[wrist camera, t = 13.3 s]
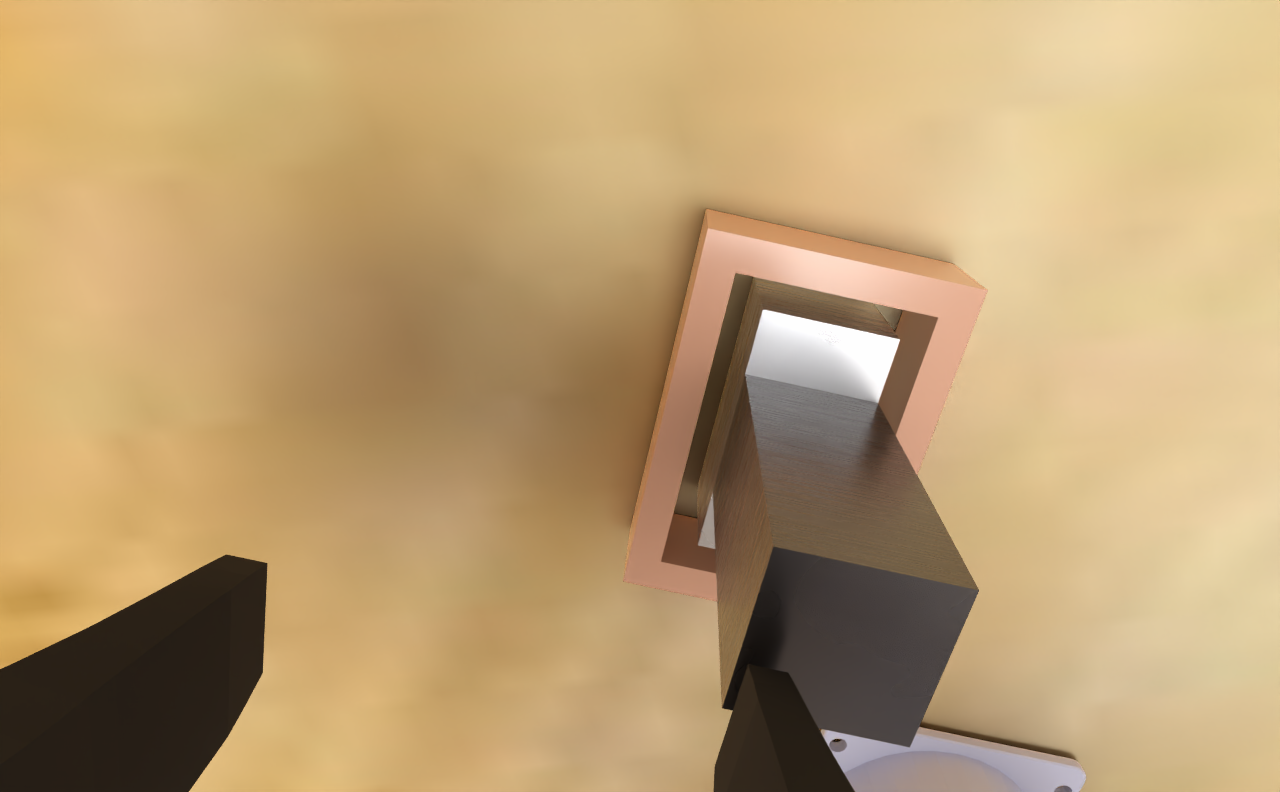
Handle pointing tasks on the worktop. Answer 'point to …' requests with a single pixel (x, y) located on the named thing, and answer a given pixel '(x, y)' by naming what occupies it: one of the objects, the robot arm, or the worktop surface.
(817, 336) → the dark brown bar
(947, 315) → the pusher holder
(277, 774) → the worktop surface
